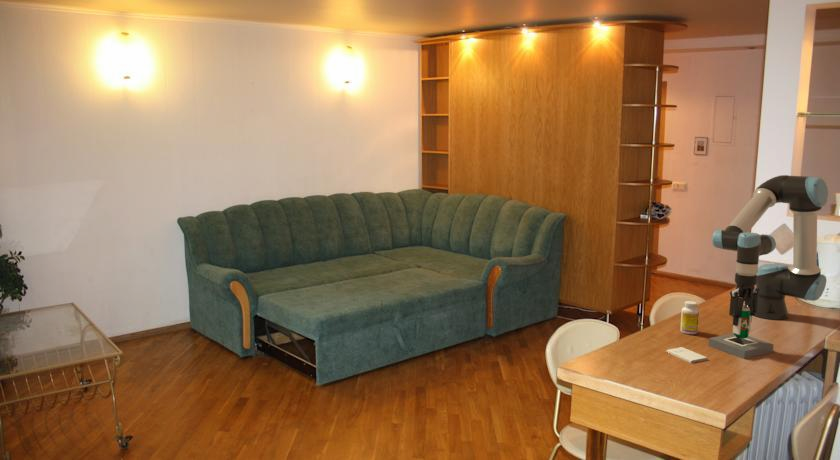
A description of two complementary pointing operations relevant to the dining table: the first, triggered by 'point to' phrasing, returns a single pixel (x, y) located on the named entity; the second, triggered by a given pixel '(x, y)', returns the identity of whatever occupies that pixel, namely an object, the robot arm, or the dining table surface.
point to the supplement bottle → (689, 318)
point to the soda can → (744, 322)
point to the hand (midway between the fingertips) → (741, 332)
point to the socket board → (741, 345)
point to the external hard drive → (686, 355)
